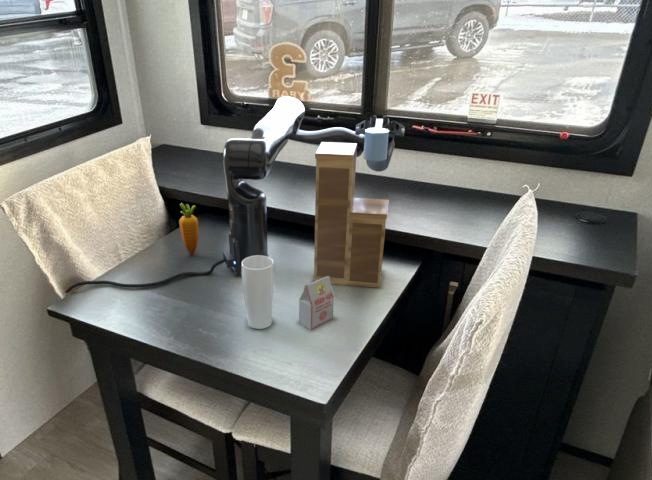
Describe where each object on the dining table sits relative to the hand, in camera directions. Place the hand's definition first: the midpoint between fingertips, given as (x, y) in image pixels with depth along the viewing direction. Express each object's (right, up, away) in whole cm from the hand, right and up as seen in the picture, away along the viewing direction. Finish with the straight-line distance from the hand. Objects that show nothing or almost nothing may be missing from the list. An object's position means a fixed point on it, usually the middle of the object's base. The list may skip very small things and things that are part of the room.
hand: (379, 119), depth 137 cm
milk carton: (-17, -50, -17) cm, 55 cm away
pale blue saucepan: (-1, -8, 0) cm, 8 cm away
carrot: (-49, -33, +13) cm, 60 cm away
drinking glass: (-30, -50, -17) cm, 61 cm away
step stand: (-8, -39, 0) cm, 40 cm away
